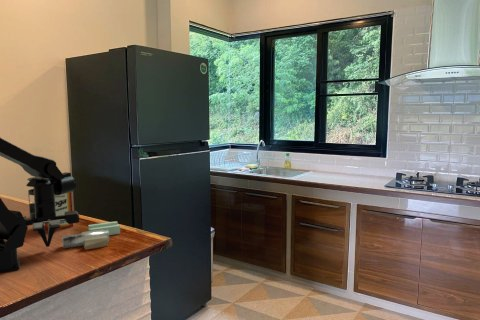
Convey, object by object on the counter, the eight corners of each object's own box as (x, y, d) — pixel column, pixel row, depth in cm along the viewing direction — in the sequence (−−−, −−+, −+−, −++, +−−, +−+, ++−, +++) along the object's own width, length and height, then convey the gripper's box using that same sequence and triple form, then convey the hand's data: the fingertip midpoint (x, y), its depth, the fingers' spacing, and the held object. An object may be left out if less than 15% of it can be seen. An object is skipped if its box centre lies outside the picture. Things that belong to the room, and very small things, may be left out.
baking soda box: (45, 230, 134) (42, 188, 131) (45, 225, 139) (42, 185, 137) (73, 226, 138) (71, 186, 136) (72, 222, 144) (70, 183, 142)
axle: (107, 241, 125) (106, 229, 125) (109, 241, 121) (108, 229, 122) (63, 248, 118) (62, 236, 118) (63, 248, 114) (62, 236, 115)
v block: (120, 233, 131) (119, 225, 130) (90, 238, 126) (90, 229, 125) (117, 228, 136) (116, 221, 135) (88, 233, 131) (88, 225, 130)
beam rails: (107, 245, 118) (107, 237, 118) (85, 249, 115) (84, 240, 115) (103, 237, 126) (103, 229, 126) (81, 240, 123) (81, 232, 123)
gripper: (74, 190, 123) (77, 234, 125) (10, 196, 114) (14, 243, 116) (78, 197, 114) (80, 244, 116) (8, 204, 105) (12, 255, 107)
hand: (47, 246), depth 114 cm, fingers closed
